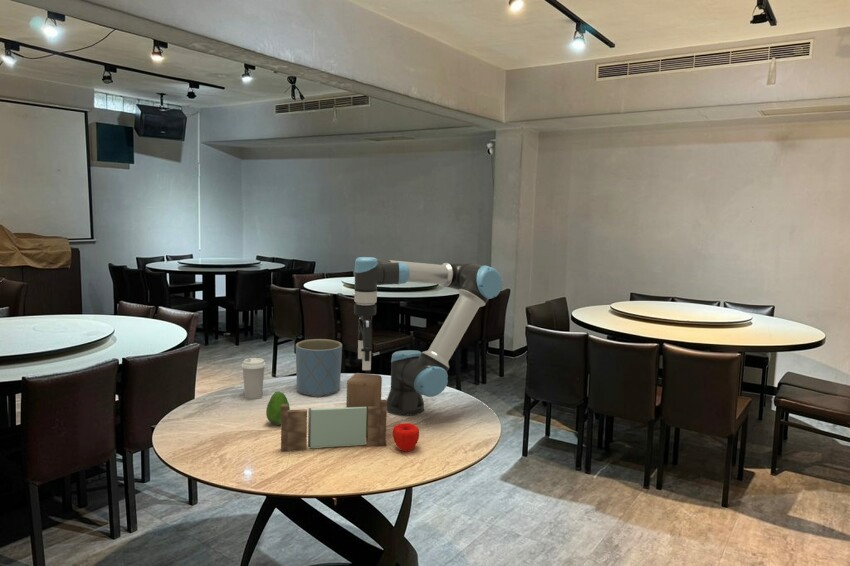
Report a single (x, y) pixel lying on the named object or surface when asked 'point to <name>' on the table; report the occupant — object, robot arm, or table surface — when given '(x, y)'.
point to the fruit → (276, 407)
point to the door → (337, 427)
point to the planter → (318, 366)
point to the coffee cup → (253, 377)
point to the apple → (406, 436)
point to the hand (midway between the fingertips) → (364, 364)
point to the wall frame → (297, 427)
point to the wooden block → (364, 391)
